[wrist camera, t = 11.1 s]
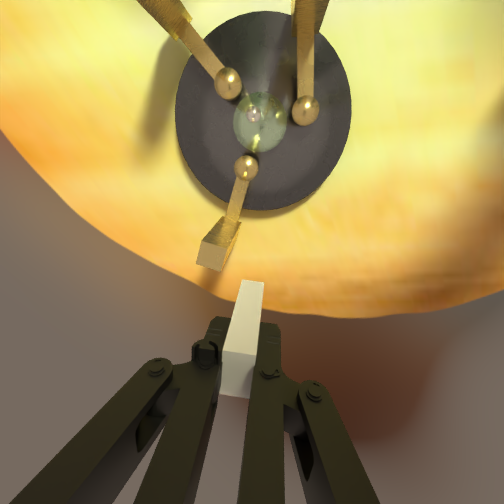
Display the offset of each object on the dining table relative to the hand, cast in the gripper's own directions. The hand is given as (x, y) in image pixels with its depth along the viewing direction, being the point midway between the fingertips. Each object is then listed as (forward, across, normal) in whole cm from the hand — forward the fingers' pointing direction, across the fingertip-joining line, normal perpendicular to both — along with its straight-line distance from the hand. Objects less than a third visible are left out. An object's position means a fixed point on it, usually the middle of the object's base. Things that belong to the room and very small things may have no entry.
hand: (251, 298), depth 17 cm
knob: (+17, -9, +18) cm, 26 cm away
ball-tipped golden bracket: (+17, -4, +3) cm, 18 cm away
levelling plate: (+19, -2, +12) cm, 22 cm away
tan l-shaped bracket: (+17, +2, +18) cm, 24 cm away
